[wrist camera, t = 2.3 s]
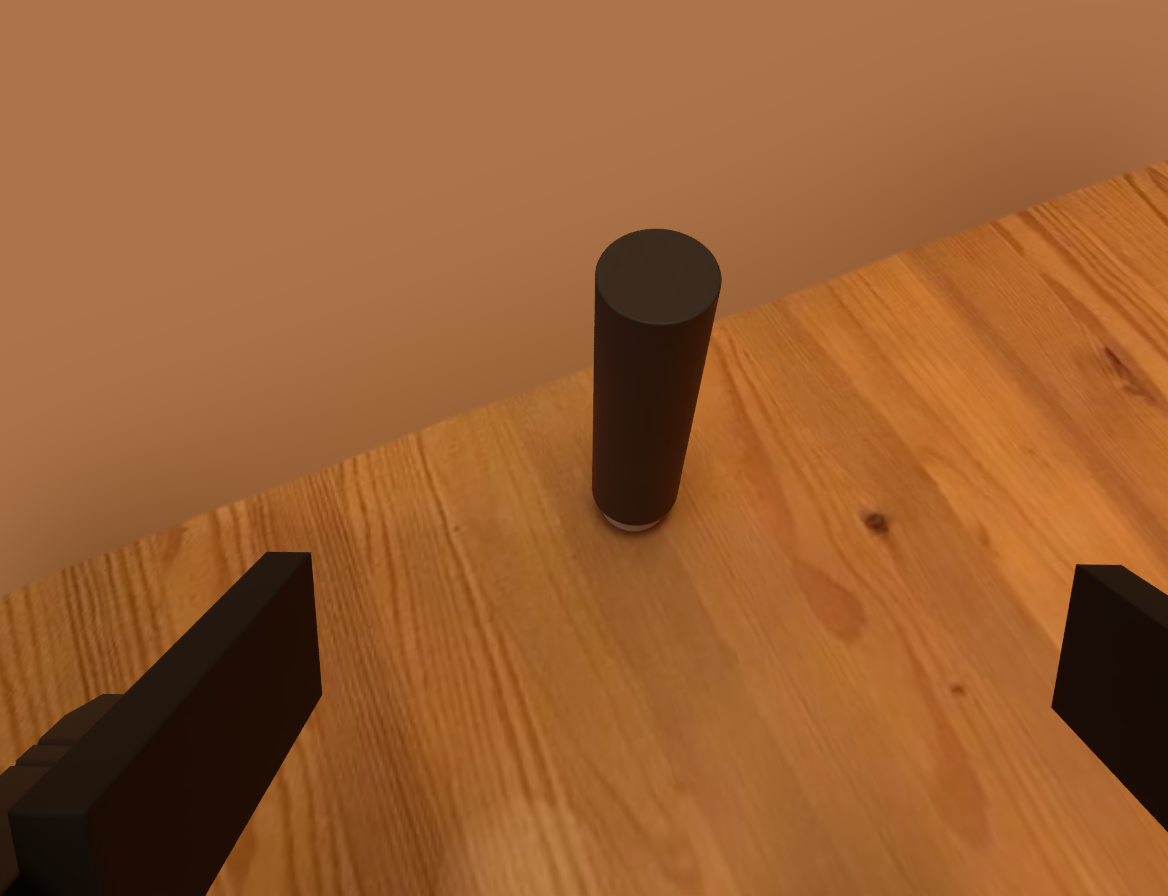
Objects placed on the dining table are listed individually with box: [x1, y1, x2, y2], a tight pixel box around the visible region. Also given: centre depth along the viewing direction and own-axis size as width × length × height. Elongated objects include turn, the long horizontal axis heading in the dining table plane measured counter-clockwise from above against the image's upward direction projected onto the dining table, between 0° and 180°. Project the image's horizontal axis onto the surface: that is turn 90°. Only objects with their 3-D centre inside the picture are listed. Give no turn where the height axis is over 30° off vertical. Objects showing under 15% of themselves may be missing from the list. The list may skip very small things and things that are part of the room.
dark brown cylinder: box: [592, 229, 721, 531], centre depth 27 cm, size 3×3×13 cm
